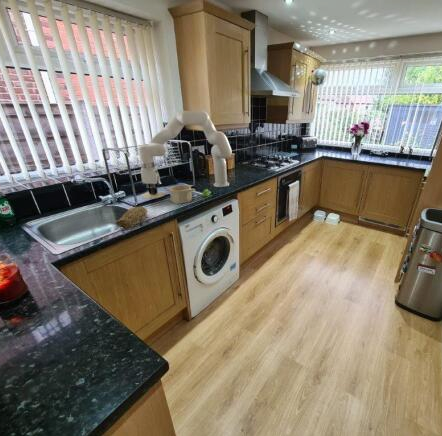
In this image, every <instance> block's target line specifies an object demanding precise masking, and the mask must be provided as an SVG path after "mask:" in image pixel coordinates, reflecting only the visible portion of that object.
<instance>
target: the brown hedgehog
mask: <svg viewBox="0 0 442 436" xmlns="http://www.w3.org/2000/svg"><path fill="white" fill-rule="evenodd" d="M147 214H148V210H147V209H146V207H144V206H135V207H131V208H129V209H128V210H127V211H125V212H123V216H121V217H120V218H119V219H118V220H116V221H115V224H116V226H118V227H119V228H123V229H126V230H128V229H131V228H133V227H135V226H136V225H137V224H139V223H140V222H142V221H143V220H144V219H145V218H146V217H147Z"/></svg>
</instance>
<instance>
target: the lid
mask: <svg viewBox="0 0 442 436" xmlns="http://www.w3.org/2000/svg"><path fill="white" fill-rule="evenodd" d="M153 188H154V187H153V185H151V187H150V190H151V194H149V191H147V192H144V193H142V194H141V198H142V199H145V200H152V199H159V198H162V197H164V196H165V195H166V192H165V191H164V190H157V191H158V192H157V194H154V191H153Z"/></svg>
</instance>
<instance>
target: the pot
mask: <svg viewBox="0 0 442 436" xmlns="http://www.w3.org/2000/svg"><path fill="white" fill-rule="evenodd" d="M165 191H166V192H167V191H169V195H170V196H169V197H170V202H172V203H173V204H186V203H190V202H191V201H193V193H192V192H194V191H196V189H195V188H192V186H191V185H189V184H178V185H173V186H171V187H167V188H166V189H165Z"/></svg>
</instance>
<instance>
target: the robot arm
mask: <svg viewBox="0 0 442 436" xmlns="http://www.w3.org/2000/svg"><path fill="white" fill-rule="evenodd" d="M185 126H199V127H200V128H201V130H202V132H203V133H204V136H205V138H206V140H207V142H208V143H209V144H210V145H212V147H211V150H210V153H211V157H212V161H213V170H214V171H213V173H214V183H213V187H215V188H226V187H229V186H230V182H228V174H227V161H226V160H228V159H230V158H231V156H232V153H233V150H232V147H231V145H230V141H229V140H228V137H227V136H226V134H225V133H224V132H223V131H219V130H217V129H216V127H215V125H214V123H213V121H212V120H211V118H210V116H209V113H207V112H206V111H205V110H178V111H176V112H175V113H174V114H173V116H172V117H171V118H170V120H169V121H168V122H167V124H166V125H165V126H164V127H163V128H162V129H161V130H159V132H157V133H156V134H155V135H154V136H153V137H152V139H151V140H150V141H149V143H148V144H139V145H138V146H137V152H138V157H139V161H140V167H141V168H140V176H141V184H142V185H143V186H144V187H146V188H147V192H149V194H151V190H150V187H151V186H153V187H154V188H153V191H154V194H157V192H158V191H159V190H158V187H159V186H161V185H162V182H161V178H160V173H159V171H158V168H157V167H156V166H157V163H155V161H154V157H162V156H163V157H164V156H165V154H166V153H167V149H166V146H165V145H164V144H166V143H167V142H168V141H171V140H173V139H175V138H176V137H178V135H179V134H180V132H181V131H182V130H183V128H184V127H185Z"/></svg>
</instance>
